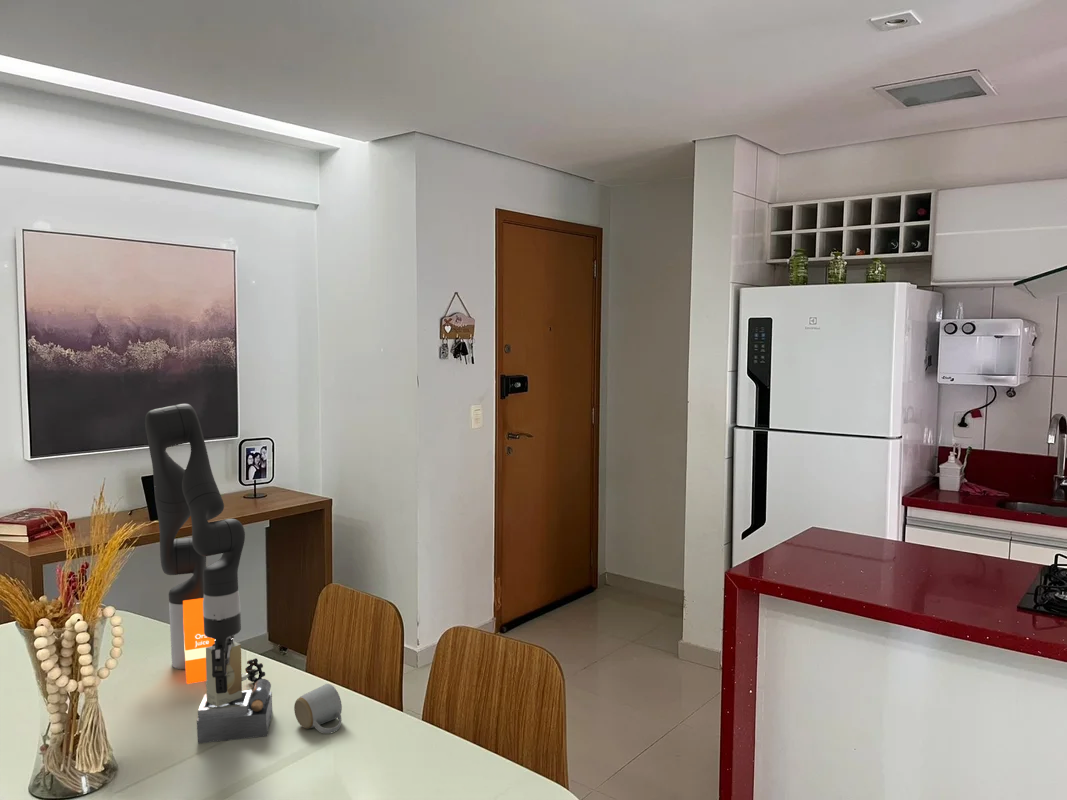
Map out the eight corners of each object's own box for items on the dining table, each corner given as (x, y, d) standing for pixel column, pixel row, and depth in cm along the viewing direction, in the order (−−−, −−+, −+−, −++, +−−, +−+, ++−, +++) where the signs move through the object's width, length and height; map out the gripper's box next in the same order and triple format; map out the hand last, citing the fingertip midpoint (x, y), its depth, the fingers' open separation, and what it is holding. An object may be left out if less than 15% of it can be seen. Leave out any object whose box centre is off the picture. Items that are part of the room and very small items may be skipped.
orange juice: (185, 672, 209) (181, 596, 207) (222, 666, 212) (219, 591, 210) (186, 684, 201) (182, 605, 200) (224, 677, 205) (221, 600, 203)
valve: (223, 706, 190) (266, 687, 200) (221, 678, 189) (265, 661, 199) (206, 699, 194) (249, 680, 204) (204, 672, 193) (248, 655, 203)
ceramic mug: (292, 724, 181) (291, 691, 180) (323, 711, 187) (323, 678, 186) (319, 740, 174) (318, 706, 173) (351, 726, 180) (350, 693, 179)
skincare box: (217, 707, 175) (215, 652, 174) (206, 702, 177) (203, 647, 176) (243, 697, 180) (241, 643, 179) (232, 691, 182) (230, 638, 181)
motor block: (207, 719, 184) (205, 682, 183) (272, 712, 186) (271, 676, 186) (197, 743, 173) (195, 704, 172) (266, 736, 176) (265, 697, 175)
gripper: (209, 602, 183) (212, 672, 184) (197, 624, 169) (200, 700, 171) (244, 599, 185) (247, 669, 186) (235, 621, 171) (238, 697, 172)
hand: (225, 684), depth 178 cm, fingers open, 8 cm apart
